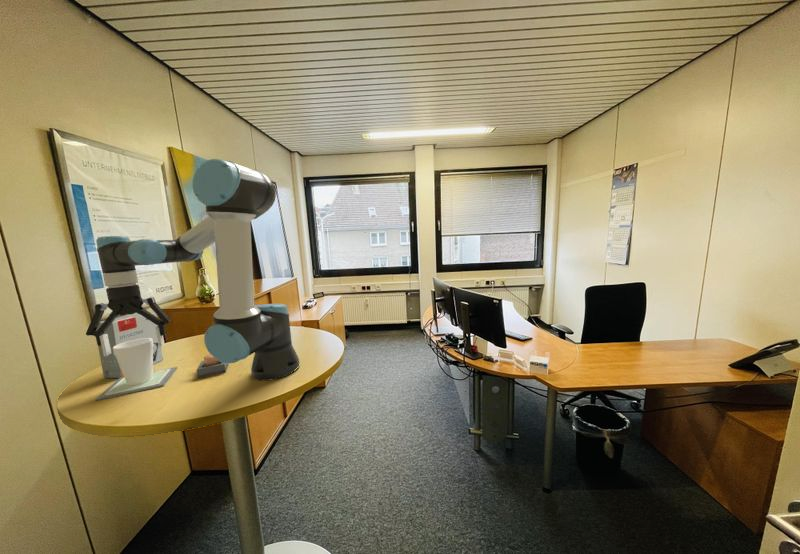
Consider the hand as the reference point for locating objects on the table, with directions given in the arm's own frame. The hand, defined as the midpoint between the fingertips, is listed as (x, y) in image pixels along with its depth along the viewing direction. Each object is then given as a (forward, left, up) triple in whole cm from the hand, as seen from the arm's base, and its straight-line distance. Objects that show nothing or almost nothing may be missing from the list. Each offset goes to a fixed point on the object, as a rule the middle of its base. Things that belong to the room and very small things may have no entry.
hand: (135, 349), depth 91 cm
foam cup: (0, 0, -11) cm, 11 cm away
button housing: (-3, -21, -11) cm, 24 cm away
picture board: (0, 0, -11) cm, 11 cm away
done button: (-3, -21, -9) cm, 23 cm away
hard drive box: (+17, +7, -12) cm, 22 cm away
